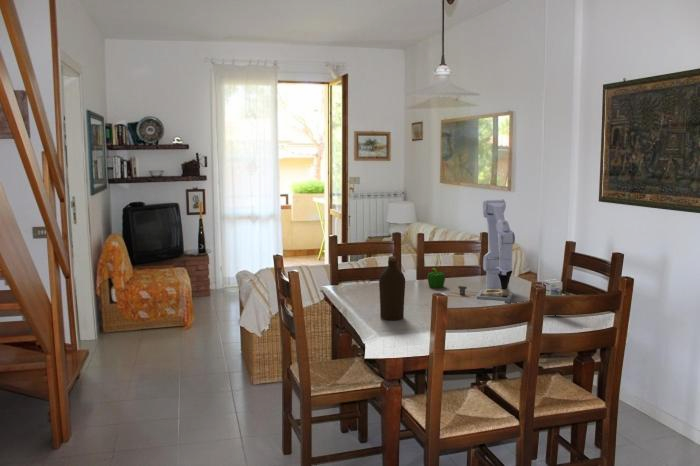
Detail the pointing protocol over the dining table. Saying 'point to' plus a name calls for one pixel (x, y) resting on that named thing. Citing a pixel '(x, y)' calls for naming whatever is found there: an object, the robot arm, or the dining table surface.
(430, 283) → the bell pepper
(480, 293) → the slate tray
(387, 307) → the olive oil
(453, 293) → the base
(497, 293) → the tan frame with tab
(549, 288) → the syrup box
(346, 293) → the dining table surface
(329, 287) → the dining table surface
